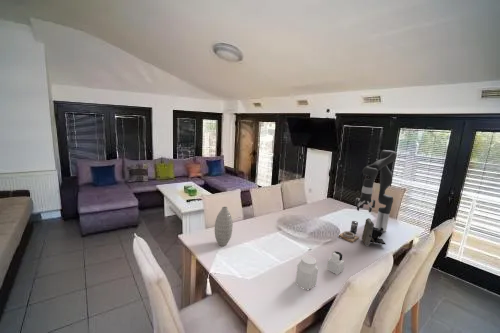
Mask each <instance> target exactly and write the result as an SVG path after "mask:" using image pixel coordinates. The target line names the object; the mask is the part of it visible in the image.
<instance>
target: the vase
mask: <svg viewBox="0 0 500 333" xmlns="http://www.w3.org/2000/svg"><path fill="white" fill-rule="evenodd" d="M214 222H215V223H214V238H215V240H216V242H217V244H218V245H219V246H220V247H225V246H227V244H228V243H229V242H230V240H231V238H232V235H233V228H234V227H233V217H232V215H231V213H230V211H229V209H228V207H227V206H222V207H221V209H220V211H219V212H218V214H217V215H216V219H215V221H214Z"/></svg>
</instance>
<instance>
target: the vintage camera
mask: <svg viewBox="0 0 500 333" xmlns="http://www.w3.org/2000/svg"><path fill="white" fill-rule="evenodd" d="M383 230H384V229H383V228H382V227H381V229H380V230H379V229H378V228H375V223H374V222H373V221H372V219H371V218H366V219H365V222H364V227H363V231H362V235H361V239H362V241H363V243H364V245H365V246H369V245H370V244H371V243H373V244H378V245H379V244H380V245H384V246H385V245H387V243H386V242H385V241H384V240H383V238H381V237H382V236H383V234H384V232H382V231H383Z"/></svg>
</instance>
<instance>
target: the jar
mask: <svg viewBox="0 0 500 333" xmlns="http://www.w3.org/2000/svg"><path fill="white" fill-rule="evenodd" d="M296 269H297V270H296V276H295V284H296V283H297V284H298V285H299V286H300V287H302V288H304V289H303V290H305V289H310V288H311V287H312V286H314V287H316V286H317V282H318V281H317V279H318V273H319V268H318V266H317V260H316V258H315V257H313V256H311V255H303V256H301V260H300V261H299V262H298V264H297V268H296ZM297 284H296V285H297ZM298 285H297V286H298ZM315 285H316V286H315ZM299 286H298V287H299ZM300 287H299V288H300ZM302 288H301V289H302ZM312 288H313V287H312ZM312 288H311V289H312ZM311 289H310V290H311Z"/></svg>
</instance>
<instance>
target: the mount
mask: <svg viewBox="0 0 500 333" xmlns="http://www.w3.org/2000/svg"><path fill="white" fill-rule="evenodd" d="M338 235H339V234H338ZM338 238H341V239H343V240H345V241H348V242H349V243H352V244H353V243H354V242H356V241H358V240H359V239H360V237H359V236H357V235H356V234H354V233H351V232H350V231H343V232H342V233H340V235H339V237H338Z"/></svg>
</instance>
